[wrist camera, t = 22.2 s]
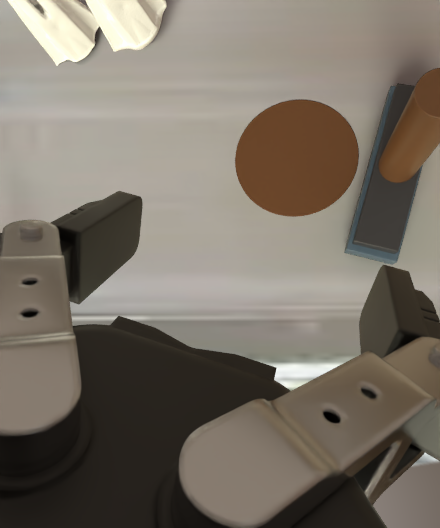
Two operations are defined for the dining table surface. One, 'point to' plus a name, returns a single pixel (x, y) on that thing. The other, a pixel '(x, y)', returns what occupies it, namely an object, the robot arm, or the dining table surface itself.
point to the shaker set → (90, 24)
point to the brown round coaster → (296, 158)
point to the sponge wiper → (396, 168)
